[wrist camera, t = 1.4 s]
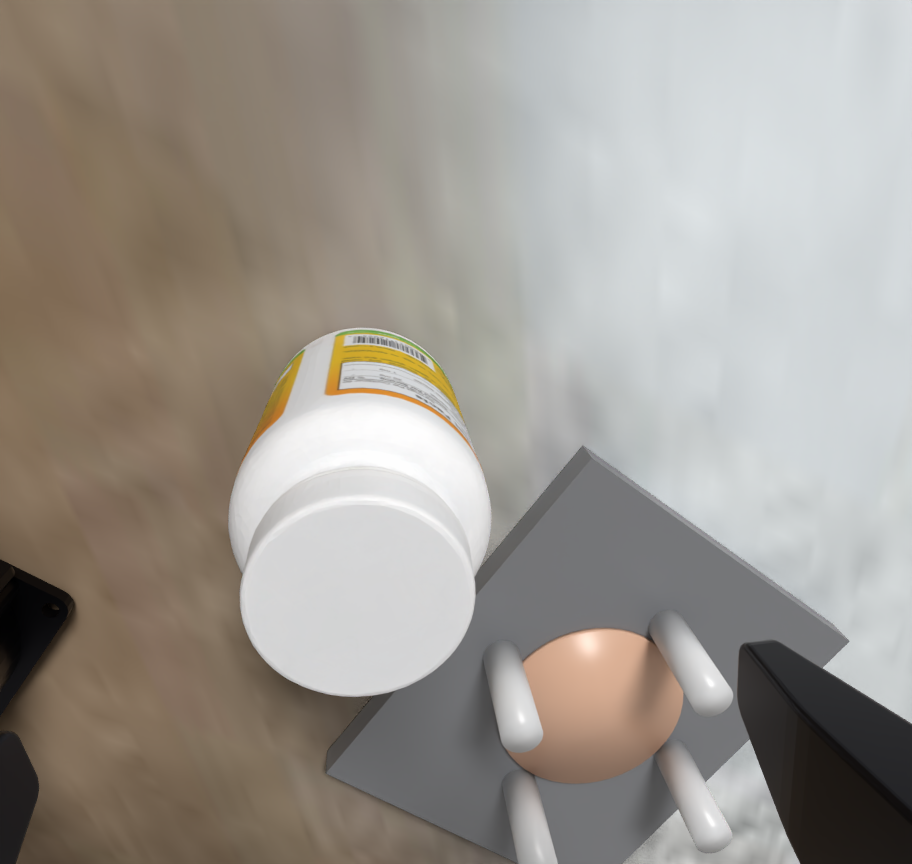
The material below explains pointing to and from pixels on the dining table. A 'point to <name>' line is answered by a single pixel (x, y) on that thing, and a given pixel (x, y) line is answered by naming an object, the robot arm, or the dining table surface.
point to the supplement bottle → (359, 517)
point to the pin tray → (583, 683)
